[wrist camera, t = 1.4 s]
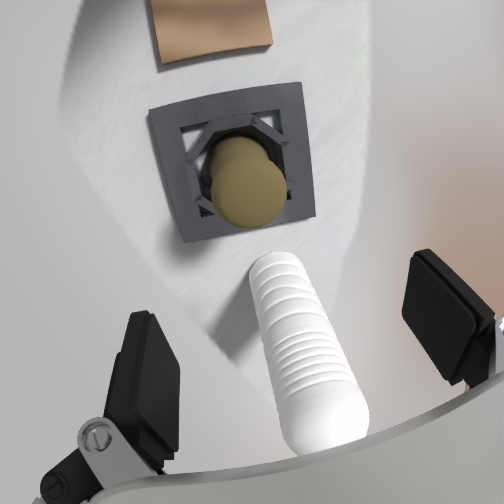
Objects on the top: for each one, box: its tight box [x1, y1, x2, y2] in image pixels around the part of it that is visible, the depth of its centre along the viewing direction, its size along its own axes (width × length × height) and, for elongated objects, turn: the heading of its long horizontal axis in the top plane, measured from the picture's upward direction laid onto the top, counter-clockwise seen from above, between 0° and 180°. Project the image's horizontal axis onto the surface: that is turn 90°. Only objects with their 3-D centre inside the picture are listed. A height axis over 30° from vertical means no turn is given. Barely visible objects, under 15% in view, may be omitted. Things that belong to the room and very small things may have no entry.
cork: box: [206, 131, 287, 229], centre depth 24 cm, size 6×6×11 cm
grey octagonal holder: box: [149, 82, 316, 243], centre depth 27 cm, size 14×14×4 cm
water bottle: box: [249, 251, 369, 456], centre depth 26 cm, size 9×6×25 cm
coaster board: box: [151, 0, 273, 65], centre depth 20 cm, size 10×10×1 cm
